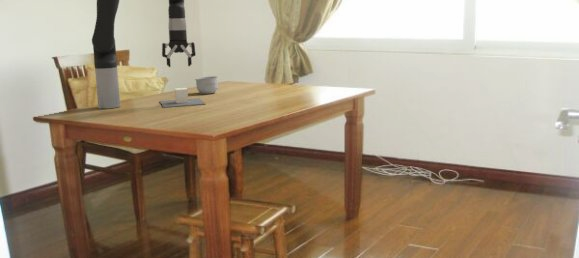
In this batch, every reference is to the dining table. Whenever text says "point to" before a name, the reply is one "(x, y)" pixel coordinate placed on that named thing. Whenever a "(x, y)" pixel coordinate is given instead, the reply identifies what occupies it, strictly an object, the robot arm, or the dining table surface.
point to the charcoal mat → (190, 103)
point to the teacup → (207, 84)
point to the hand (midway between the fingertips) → (179, 66)
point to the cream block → (181, 95)
